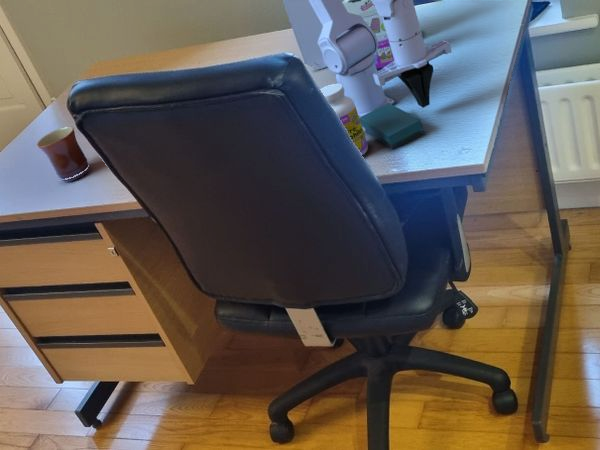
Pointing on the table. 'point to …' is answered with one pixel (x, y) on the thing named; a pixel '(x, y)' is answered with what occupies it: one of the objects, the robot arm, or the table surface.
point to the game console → (306, 31)
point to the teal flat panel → (391, 125)
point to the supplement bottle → (346, 114)
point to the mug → (64, 153)
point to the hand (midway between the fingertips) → (424, 104)
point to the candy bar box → (360, 4)
